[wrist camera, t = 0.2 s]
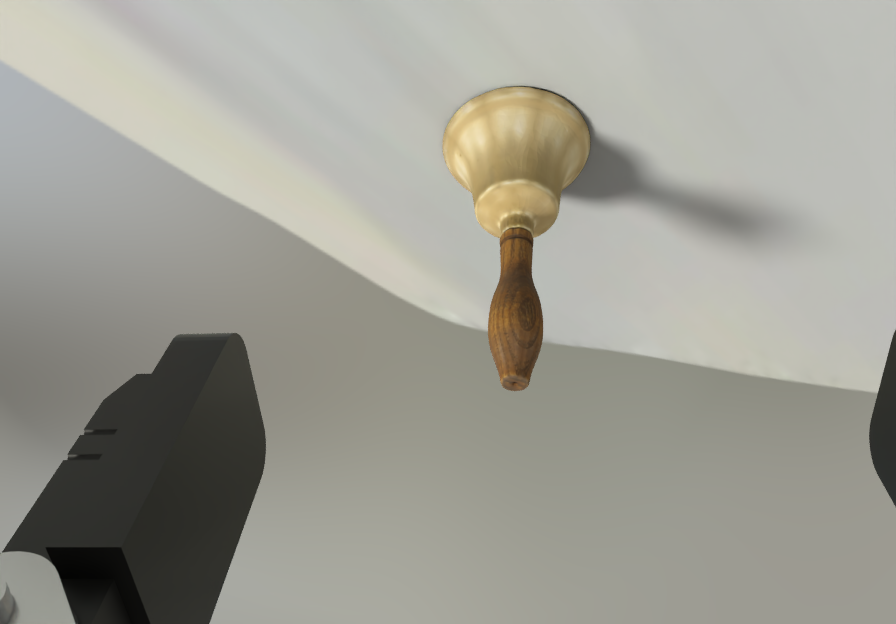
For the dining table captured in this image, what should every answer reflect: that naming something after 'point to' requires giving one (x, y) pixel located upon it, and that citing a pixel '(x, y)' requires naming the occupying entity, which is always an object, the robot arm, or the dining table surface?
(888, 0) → the dining table surface
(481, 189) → the hand bell
